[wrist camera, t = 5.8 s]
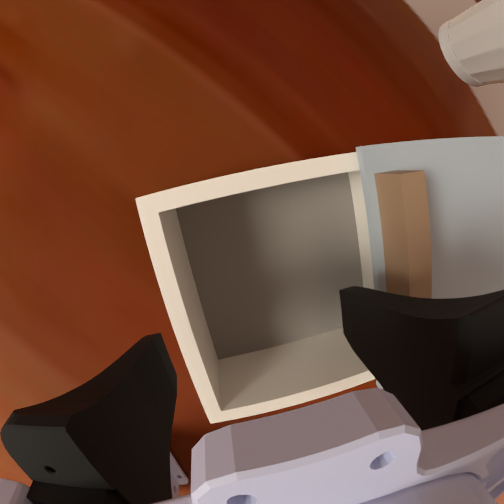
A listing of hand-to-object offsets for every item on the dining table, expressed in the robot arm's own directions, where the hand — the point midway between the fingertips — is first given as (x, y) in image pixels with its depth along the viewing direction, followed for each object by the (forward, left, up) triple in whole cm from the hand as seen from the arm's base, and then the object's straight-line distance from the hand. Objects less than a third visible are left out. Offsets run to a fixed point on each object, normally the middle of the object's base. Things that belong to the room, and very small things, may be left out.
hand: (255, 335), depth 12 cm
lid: (0, -12, -2) cm, 12 cm away
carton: (0, -6, -8) cm, 10 cm away
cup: (+14, -23, -8) cm, 28 cm away
